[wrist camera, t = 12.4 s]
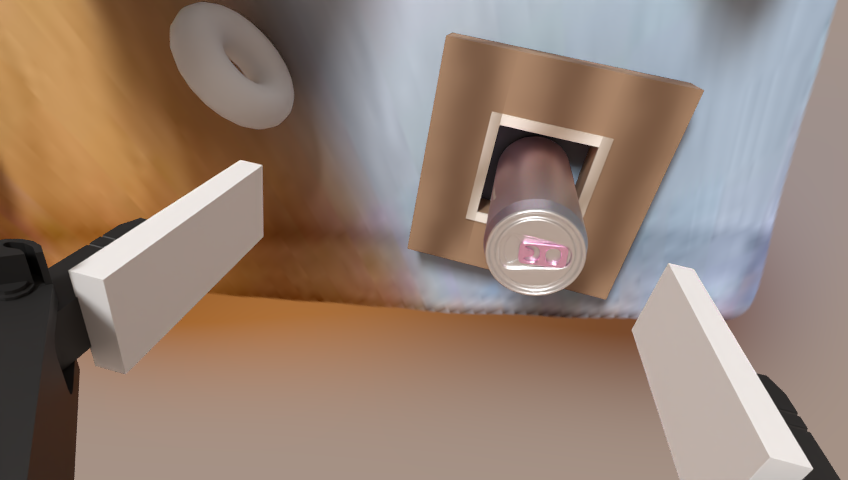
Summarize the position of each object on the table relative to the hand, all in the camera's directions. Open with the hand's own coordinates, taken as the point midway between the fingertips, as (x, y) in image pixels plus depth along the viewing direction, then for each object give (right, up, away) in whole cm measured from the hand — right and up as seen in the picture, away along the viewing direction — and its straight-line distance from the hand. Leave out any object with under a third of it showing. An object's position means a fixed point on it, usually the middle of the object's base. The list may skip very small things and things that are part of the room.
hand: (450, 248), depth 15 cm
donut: (-14, +16, +24) cm, 32 cm away
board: (+8, +6, +24) cm, 26 cm away
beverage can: (+8, +6, +24) cm, 26 cm away
